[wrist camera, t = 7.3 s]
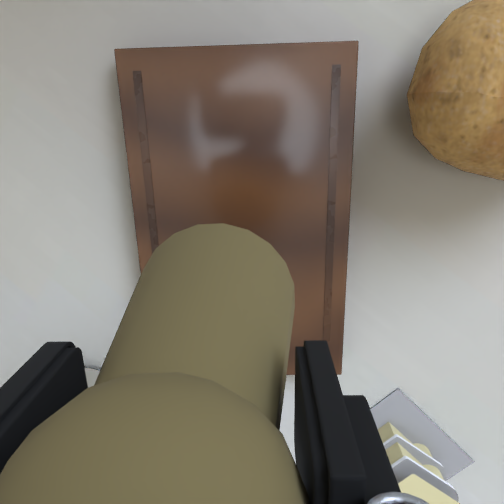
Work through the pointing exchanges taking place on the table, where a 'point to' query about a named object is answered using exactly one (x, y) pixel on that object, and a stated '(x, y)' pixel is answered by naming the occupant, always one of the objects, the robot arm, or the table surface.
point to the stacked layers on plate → (418, 450)
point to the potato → (463, 90)
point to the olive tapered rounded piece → (179, 389)
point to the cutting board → (249, 158)
